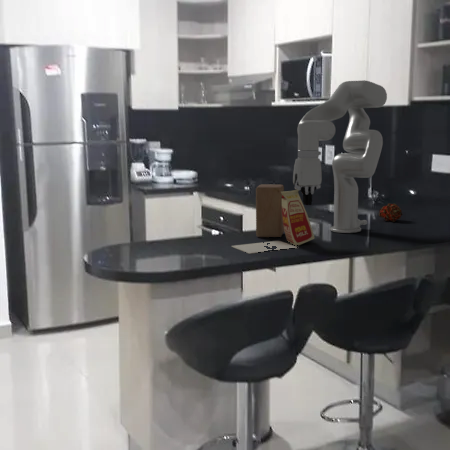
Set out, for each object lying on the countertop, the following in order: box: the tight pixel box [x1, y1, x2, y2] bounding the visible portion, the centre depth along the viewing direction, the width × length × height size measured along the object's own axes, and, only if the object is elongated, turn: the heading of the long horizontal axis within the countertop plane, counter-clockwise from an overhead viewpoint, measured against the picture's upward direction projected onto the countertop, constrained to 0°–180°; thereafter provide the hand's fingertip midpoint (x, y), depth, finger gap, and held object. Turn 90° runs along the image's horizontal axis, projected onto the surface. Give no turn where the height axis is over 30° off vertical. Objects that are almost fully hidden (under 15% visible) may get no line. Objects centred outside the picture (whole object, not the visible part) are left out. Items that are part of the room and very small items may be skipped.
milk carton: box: [281, 189, 315, 247], centre depth 238 cm, size 9×9×20 cm
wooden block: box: [255, 183, 285, 238], centre depth 255 cm, size 10×10×20 cm
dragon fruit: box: [378, 203, 404, 222], centre depth 286 cm, size 8×8×12 cm
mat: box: [231, 240, 298, 255], centre depth 234 cm, size 20×14×1 cm
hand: (307, 204), depth 239 cm, fingers closed
